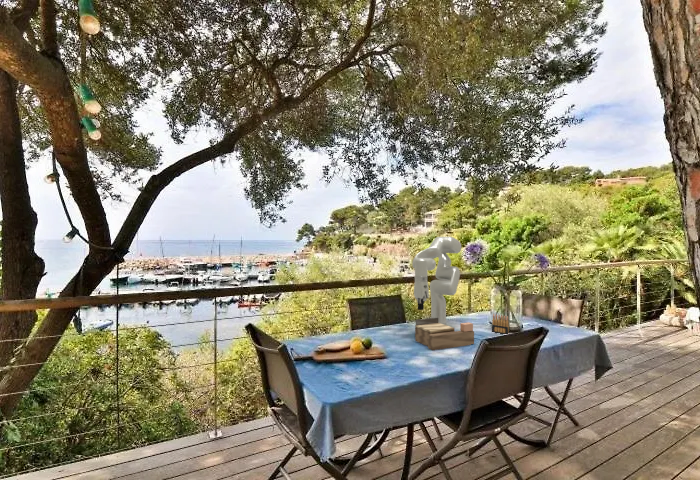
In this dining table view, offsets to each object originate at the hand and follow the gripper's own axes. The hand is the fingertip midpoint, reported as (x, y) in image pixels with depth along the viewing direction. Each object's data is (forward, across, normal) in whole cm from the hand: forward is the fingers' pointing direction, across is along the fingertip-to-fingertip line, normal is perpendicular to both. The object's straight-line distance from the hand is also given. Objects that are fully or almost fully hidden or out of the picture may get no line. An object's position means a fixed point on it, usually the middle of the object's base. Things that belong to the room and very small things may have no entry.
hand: (420, 309), depth 263 cm
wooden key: (+9, -24, -15) cm, 30 cm away
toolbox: (+17, -16, -5) cm, 24 cm away
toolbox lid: (+9, -14, -1) cm, 16 cm away
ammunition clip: (+16, -13, -50) cm, 54 cm away
